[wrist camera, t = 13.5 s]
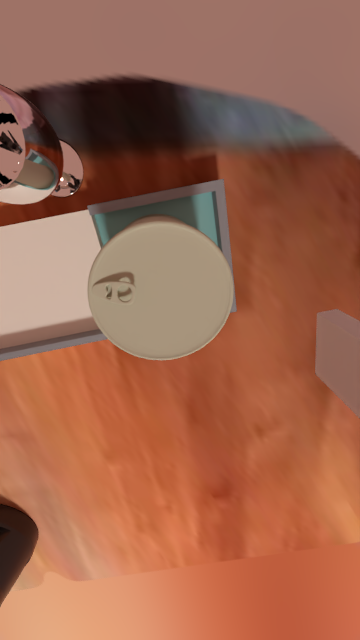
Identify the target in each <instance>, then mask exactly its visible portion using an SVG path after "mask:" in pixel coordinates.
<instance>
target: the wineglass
mask: <svg viewBox="0 0 360 640" xmlns="http://www.w3.org/2000/svg"><path fill="white" fill-rule="evenodd" d="M83 173H84V171H83V165H82V162H81V160H80V157H79V156H78V154H77V153H76V151H75V150H74V149H73V148H72V147H71V146H69V145H68V144H67V143H65V142H63V141H61V140H59V139H58V136H57V134H56V132H55V130H54V129H53V127H52V125H51V124H50V123H49V121H48V120H47V118H46V117H45V116H44V115H43V113H42V112H41V111H40V110H39V109H38V108H37V107H36V106H34V105H33V104H32V103H31V102H30V101H29V100H27V99H26V98H24V97H23V96H22V95H20V94H18V93H17V92H15V91H13V90H11V89H9V88H7V87H5V86H3V85H1V84H0V202H3V203H7V204H15V205H27V204H33V203H36V202H38V201H41V200H43V199H45V198H46V197H48V196H50V195H53V196H56V197H67V196H70V195H72V194H74V193H75V192H76V191H77V190H78V189H79V188H80V186H81V184H82V181H83Z"/></svg>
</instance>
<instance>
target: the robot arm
mask: <svg viewBox="0 0 360 640" xmlns="http://www.w3.org/2000/svg"><path fill="white" fill-rule="evenodd" d="M315 374H316V375H317V376H318V377H319V378H320V379H321V380H322V381H323V382H324V383H325V384H326V385H327V386H328V387H329V388H330V389H331V390H332V391H333V392H334V393H335V394H336V395H337V396H338V397H339V398H340V399H341V400H342V401H343V402H344V403H345V404H346V405H347V406H348V407H349V408H350V409H351V410H352V411H353V412H354V413H355V414H356V415H357V416H358V417H359V418H360V321H358V320H357V319H355V318H353V317H351V316H349V315H347V314H345V313H344V312H342V311H340V310H338V309H334V310H330V311H325V312H320V313H317V335H316V367H315ZM37 540H38V529H37V527H36V525H35V523H34V522H33V521H32V520H31V519H30V518H29V517H28V516H26V515H25V514H23V513H22V512H20V511H18V510H16V509H13V508H11V507H8V506H4V505H0V606H1V604H2V602H3V601H4V599H5V598H6V596H7V594H8V593H9V591H10V590H11V588H12V587H13V585H14V583H15V582H16V580H17V579H18V577H19V575H20V574H21V572H22V570H23V568H24V567H25V566H26V564H27V563H28V562H29V560H30V559H31V556H32V554H33V552H34V549H35V546H36V543H37Z"/></svg>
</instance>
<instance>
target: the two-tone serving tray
mask: <svg viewBox="0 0 360 640" xmlns="http://www.w3.org/2000/svg"><path fill="white" fill-rule="evenodd" d="M87 207H88V210H84V211H78V212H73V213H68V214H63V215H58V216H53V217H48V218H43V219H38V220H33V221H28V222H23V223H17V224H12V225H7V226H2V227H0V361H2V360H7V359H12V358H17V357H22V356H27V355H31V354H36V353H41V352H46V351H51V350H56V349H61V348H66V347H71V346H76V345H81V344H85V343H90V342H95V341H100V340H105V339H108V338H107V337H106V336H105V335H104V334H103V333H102V331H101V330H100V329H99V327H98V326H97V324H96V322H95V320H94V318H93V316H92V313H91V310H90V307H89V302H88V291H87V288H88V278H89V274H90V270H91V267H92V265H93V262H94V260H95V258H96V256H97V255H98V253H99V251H100V250H101V249H102V248H103V246H104V245H105V244H106V243H107V242H108V241H109V240H110V239H111V238H112V237H113V236H115V235H116V234H117V233H119V232H120V231H122V230H123V229H124V228H125V227H126V226H127V225H128V224H130V223H131V222H132V221H134V220H136V219H138V218H140V217H142V216H146V215H150V214H165V215H169V216H173V217H175V218H177V219H179V220H181V221H183V222H184V223H186V224H187V225H189V226H192V227H194V228H196V229H198V230H199V231H201V232H202V233H204V234H205V235H207V236H208V237H209V238H210V239H211V240H212V241H213V242H214V243H215V244H216V245H217V246H218V247H219V248H220V250H221V251H222V253H223V254H224V256H225V258H226V260H227V262H228V264H229V267H230V269H231V273H232V278H233V269H232V259H231V249H230V239H229V229H228V219H227V209H226V199H225V188H224V179H220V180H215V181H210V182H205V183H200V184H195V185H190V186H185V187H180V188H175V189H170V190H165V191H159V192H154V193H149V194H144V195H139V196H134V197H129V198H124V199H119V200H114V201H109V202H103V203H98V204H93V205H88V206H87ZM233 285H234V279H233ZM236 311H237V310H236V300H235V289H234V295H233V303H232V307H231V310H230V313H231V312H236Z"/></svg>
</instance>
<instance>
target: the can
mask: <svg viewBox="0 0 360 640" xmlns="http://www.w3.org/2000/svg"><path fill="white" fill-rule="evenodd" d="M87 291H88V302H89V307H90V310H91V313H92V316H93V318H94V320H95V322H96V324H97V326H98V327H99V329H100V330H101V331H102V333H103V334H104V335H105V336H106V337H107V338H108V339H109V340H110V341H111V342H112V343H113V344H114V345H116V346H117V347H119V348H120V349H122V350H123V351H125V352H127V353H129V354H132V355H134V356H137V357H141V358H145V359H151V360H170V359H176V358H180V357H184V356H187V355H189V354H191V353H194V352H196V351H197V350H199V349H201V348H202V347H204V346H205V345H206V344H208V343H209V342H210V341H211V340H212V339H213V338H214V337H215V336H216V335H217V334H218V333H219V331H220V330H221V329H222V327H223V326H224V324H225V322H226V320H227V318H228V316H229V313H230V310H231V307H232V303H233V295H234V285H233V278H232V273H231V269H230V267H229V264H228V262H227V260H226V258H225V256H224V254H223V253H222V251H221V250H220V248H219V247H218V246H217V245H216V244H215V243H214V242H213V241H212V240H211V239H210V238H209V237H208V236H207V235H205V234H204V233H202V232H201V231H199V230H198V229H196V228H194V227H192V226H189V225H187V224H186V223H184V222H183V221H181V220H179V219H177V218H175V217H173V216H169V215H165V214H150V215H146V216H142V217H140V218H138V219H136V220H134V221H132V222H131V223H130V224H128V225H127V226H126V227H125V228H124V229H123V230H122V231H120V232H119V233H117V234H116V235H115V236H113V237H112V238H111V239H110V240H109V241H108V242H107V243H106V244H105V245H104V246H103V248H102V249H101V250H100V251H99V253H98V255H97V256H96V258H95V260H94V262H93V265H92V267H91V270H90V274H89V278H88V288H87Z"/></svg>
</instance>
